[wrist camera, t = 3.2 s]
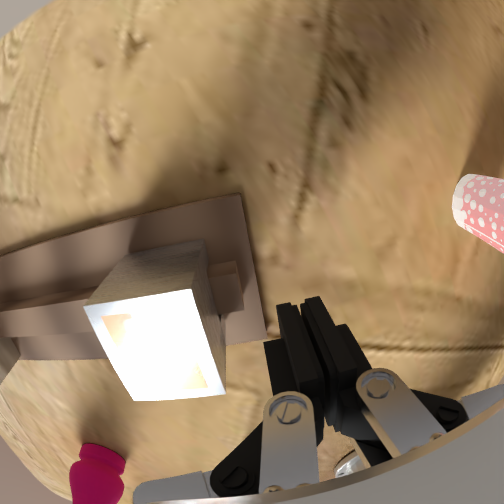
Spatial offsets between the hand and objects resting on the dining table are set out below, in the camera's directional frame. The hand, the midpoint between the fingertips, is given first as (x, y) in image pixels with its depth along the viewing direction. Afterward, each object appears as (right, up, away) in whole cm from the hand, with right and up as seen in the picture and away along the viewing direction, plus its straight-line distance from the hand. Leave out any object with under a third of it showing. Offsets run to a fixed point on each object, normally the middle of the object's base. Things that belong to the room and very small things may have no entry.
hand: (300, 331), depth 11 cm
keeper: (-7, +1, +7) cm, 9 cm away
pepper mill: (-21, -23, +16) cm, 36 cm away
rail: (-14, 0, +8) cm, 16 cm away
